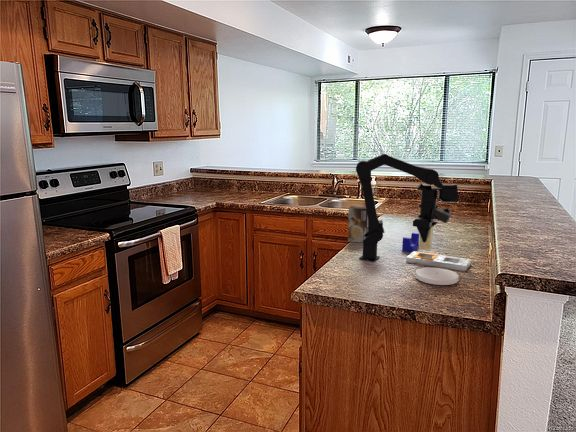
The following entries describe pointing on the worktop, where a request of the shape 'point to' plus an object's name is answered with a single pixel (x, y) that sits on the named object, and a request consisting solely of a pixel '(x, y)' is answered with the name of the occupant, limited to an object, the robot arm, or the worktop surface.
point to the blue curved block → (410, 243)
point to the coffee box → (357, 223)
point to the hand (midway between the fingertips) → (425, 241)
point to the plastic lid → (436, 276)
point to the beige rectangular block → (427, 241)
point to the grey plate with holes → (439, 260)
